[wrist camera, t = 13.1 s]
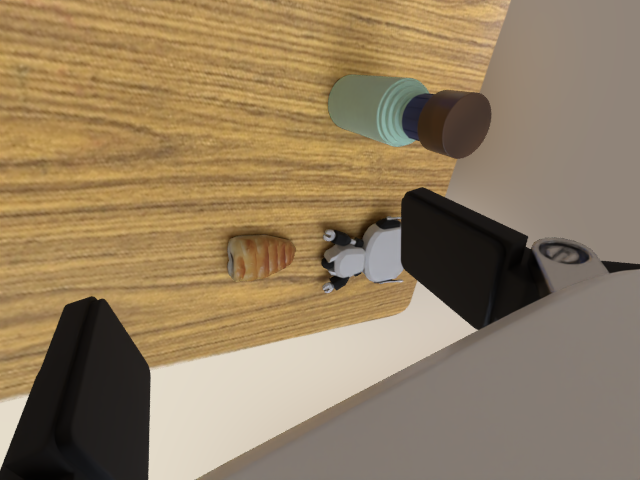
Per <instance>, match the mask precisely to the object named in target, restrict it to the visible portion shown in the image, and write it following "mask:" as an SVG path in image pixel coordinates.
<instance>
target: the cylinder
mask: <svg viewBox="0 0 640 480" xmlns="http://www.w3.org/2000/svg"><path fill="white" fill-rule="evenodd" d="M490 122H491V107H490V103H489V101H488V99H487V98H486V97H485V96H484V95H482V94H480V93H475V92H464V91H454V90H443V91H440V92H438V93H436V94H435V95H433V96H432V97H431V98H430V99H429V100H428V101H427V103H426V104H425V106H424V107H423V109H422V111H421V114H420V116H419V120H418V126H417V132H418V138H419V141H420V143H421V144H422V146H423V147H424V148H426V149H427V150H430V151H433V152H436V153H439V154H442V155H446V156H449V157H452V158H456V159H460V158H464V157H466V156H469V155H470V154H472V153H473V152H474V151H475V150H476V149H477V148H478V147H479V146H480V145H481V143H482V142H483V140H484V139H485V136H486V135H487V132H488V129H489V126H490Z"/></svg>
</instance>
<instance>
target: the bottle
mask: <svg viewBox="0 0 640 480" xmlns="http://www.w3.org/2000/svg"><path fill="white" fill-rule="evenodd" d="M424 93H428V94H429V92H428V90H427V89H426V87H425V86H424V85H423V84H422V83H421V82H419V81H418V80H416V79H413V78H402V77H385V76H368V75H347V76H344V77H342V78H341V79H339V80H338V81H337V82H336V83H335V85H334V86H333V88H332V90H331V92H330V95H329V99H328V110H329V114H330V117H331V119H332V120H333V122H334V123H335V124H336V125H337V126H338V127H340V128H343V129H345V130H348V131H351V132H354V133H357V134H360V135H362V136H365V137H368V138H371V139H374V140H377V141H379V142H382V143H385V144H388V145H391V146H395V147H400V146H404V145H408V144H410V143H412V142H414V141H415V140H414V139H411V138H408V136H406V134H405V133H404V131H403V128H402V116H403V112H404V109H405V107H406V105H407V104H408V103H409V101H410V100H411V99H412V98H414V97H415V96H417V95H420V94H424Z"/></svg>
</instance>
